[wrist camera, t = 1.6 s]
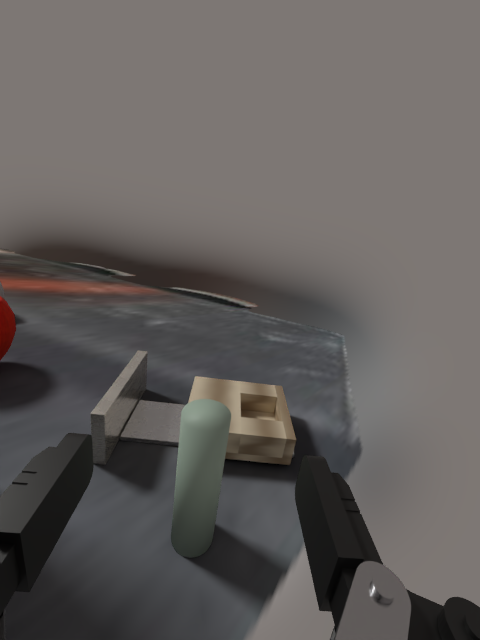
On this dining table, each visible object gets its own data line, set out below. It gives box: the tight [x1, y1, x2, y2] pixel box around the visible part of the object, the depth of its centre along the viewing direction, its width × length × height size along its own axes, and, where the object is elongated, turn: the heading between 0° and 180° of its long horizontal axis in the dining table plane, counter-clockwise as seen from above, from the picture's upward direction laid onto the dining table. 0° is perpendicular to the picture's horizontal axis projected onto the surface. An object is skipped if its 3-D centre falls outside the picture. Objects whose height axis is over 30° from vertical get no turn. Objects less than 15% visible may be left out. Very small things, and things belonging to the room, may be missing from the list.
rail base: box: [91, 351, 295, 465], centre depth 41 cm, size 25×16×7 cm, turn 91°
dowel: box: [171, 399, 231, 558], centre depth 26 cm, size 4×4×14 cm
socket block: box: [188, 376, 296, 465], centre depth 41 cm, size 14×12×4 cm
